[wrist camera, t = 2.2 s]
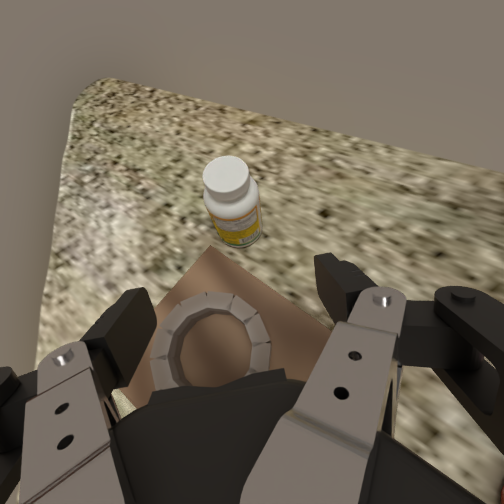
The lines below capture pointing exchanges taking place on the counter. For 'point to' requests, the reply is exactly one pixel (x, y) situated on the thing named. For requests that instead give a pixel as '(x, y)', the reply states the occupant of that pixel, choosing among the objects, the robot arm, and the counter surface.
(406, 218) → the counter surface
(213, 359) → the ring seat
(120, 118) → the counter surface
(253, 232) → the supplement bottle
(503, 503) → the supplement bottle
